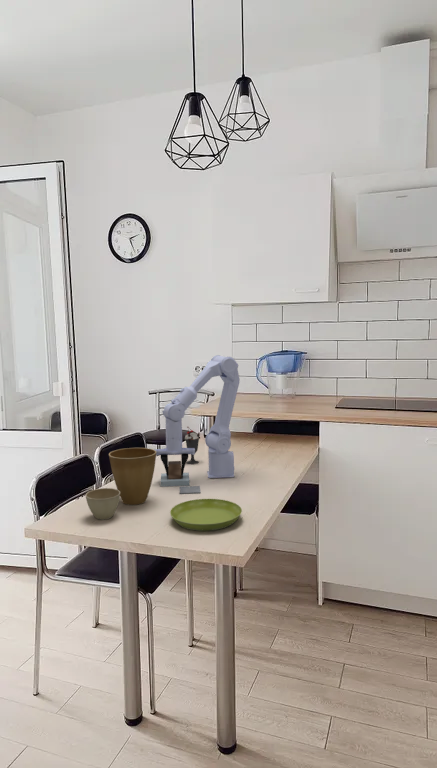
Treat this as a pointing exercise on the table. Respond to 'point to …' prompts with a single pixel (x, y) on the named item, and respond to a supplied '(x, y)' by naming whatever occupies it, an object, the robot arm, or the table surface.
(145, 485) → the plant pot
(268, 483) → the table surface
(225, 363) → the robot arm
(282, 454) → the table surface
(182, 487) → the plate
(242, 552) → the table surface
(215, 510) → the saucer
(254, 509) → the table surface
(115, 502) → the flower pot
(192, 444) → the sundae
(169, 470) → the walnut block
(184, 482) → the pocket holder
